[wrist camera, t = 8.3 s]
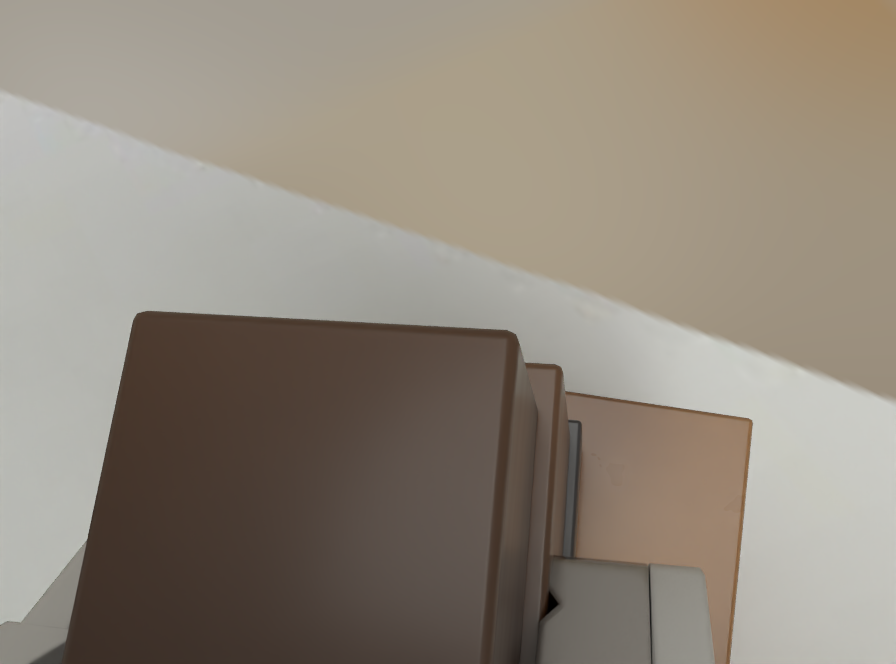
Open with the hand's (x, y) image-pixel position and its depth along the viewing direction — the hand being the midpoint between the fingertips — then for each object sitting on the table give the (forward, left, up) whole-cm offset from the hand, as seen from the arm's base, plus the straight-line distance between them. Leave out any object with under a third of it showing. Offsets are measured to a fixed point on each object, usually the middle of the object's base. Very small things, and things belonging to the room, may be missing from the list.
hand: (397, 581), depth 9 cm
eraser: (0, -1, -4) cm, 4 cm away
